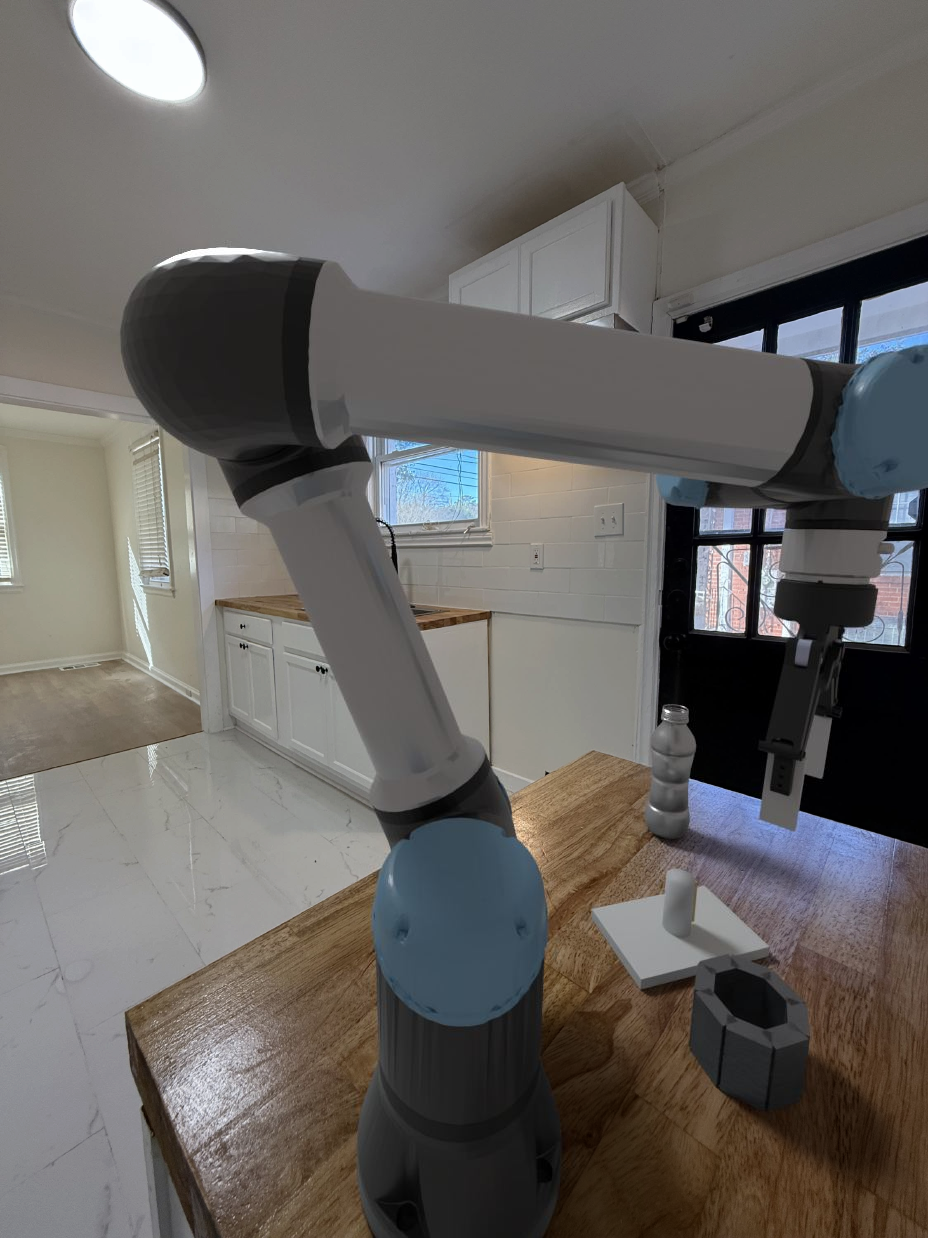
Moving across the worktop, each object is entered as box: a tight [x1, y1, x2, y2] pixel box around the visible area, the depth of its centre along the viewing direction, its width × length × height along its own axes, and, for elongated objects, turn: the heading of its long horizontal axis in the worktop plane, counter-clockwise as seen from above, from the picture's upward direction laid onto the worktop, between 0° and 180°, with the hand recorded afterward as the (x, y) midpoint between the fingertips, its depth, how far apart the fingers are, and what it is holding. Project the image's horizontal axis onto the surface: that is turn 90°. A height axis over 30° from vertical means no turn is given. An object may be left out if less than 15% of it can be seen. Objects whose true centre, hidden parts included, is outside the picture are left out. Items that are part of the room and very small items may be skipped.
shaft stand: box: [590, 868, 770, 990], centre depth 57 cm, size 16×10×8 cm, turn 105°
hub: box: [688, 954, 811, 1113], centre depth 44 cm, size 8×8×6 cm
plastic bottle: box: [644, 703, 697, 840], centre depth 76 cm, size 6×7×20 cm
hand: (793, 796), depth 49 cm, fingers open, 13 cm apart
